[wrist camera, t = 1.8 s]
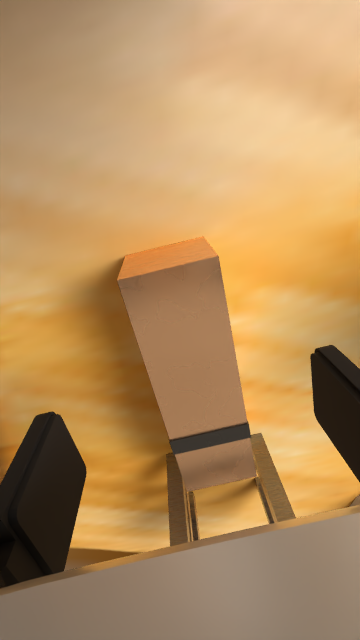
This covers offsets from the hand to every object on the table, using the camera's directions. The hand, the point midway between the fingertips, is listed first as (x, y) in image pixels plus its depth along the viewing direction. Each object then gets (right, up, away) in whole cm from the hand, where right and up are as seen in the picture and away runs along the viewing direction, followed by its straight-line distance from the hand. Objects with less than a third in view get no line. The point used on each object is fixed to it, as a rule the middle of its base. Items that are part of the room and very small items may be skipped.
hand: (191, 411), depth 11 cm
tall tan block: (0, +1, +12) cm, 12 cm away
